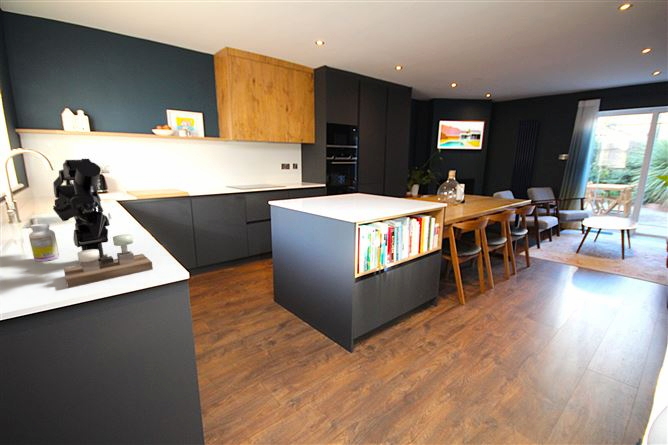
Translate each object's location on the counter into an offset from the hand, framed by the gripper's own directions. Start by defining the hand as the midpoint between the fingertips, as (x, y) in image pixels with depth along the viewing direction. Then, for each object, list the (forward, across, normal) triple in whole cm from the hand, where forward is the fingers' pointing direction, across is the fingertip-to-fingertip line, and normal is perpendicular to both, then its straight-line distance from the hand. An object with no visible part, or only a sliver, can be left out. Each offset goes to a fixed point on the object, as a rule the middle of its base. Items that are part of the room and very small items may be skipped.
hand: (96, 237), depth 93 cm
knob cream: (+9, -2, -3) cm, 10 cm away
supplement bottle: (-7, -28, -19) cm, 35 cm away
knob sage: (+6, -3, +6) cm, 9 cm away
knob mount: (+11, -5, +1) cm, 12 cm away
